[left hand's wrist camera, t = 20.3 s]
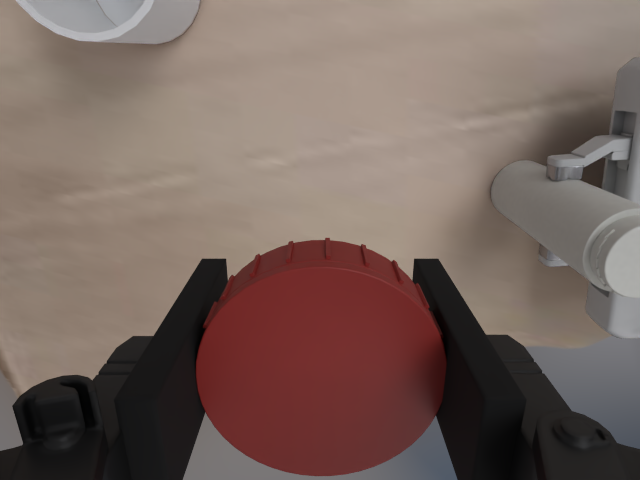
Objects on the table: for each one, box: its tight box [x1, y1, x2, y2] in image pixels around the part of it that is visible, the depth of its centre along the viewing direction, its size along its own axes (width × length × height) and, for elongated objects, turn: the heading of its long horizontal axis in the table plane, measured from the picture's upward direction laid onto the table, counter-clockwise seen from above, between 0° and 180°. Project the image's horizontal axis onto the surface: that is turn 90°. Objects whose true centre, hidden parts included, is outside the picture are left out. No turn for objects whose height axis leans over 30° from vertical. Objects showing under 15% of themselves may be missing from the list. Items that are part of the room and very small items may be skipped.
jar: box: [491, 160, 640, 298], centre depth 31 cm, size 5×5×16 cm
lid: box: [196, 238, 447, 476], centre depth 12 cm, size 6×6×2 cm
